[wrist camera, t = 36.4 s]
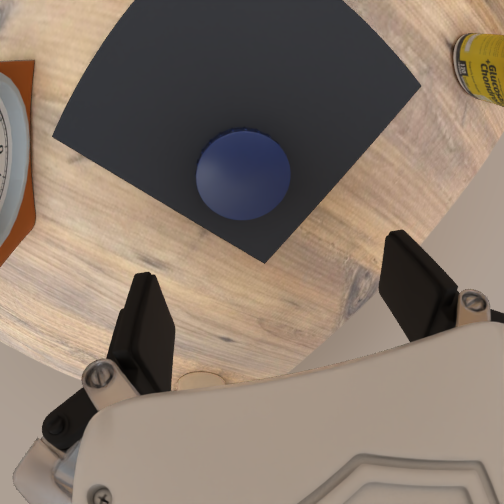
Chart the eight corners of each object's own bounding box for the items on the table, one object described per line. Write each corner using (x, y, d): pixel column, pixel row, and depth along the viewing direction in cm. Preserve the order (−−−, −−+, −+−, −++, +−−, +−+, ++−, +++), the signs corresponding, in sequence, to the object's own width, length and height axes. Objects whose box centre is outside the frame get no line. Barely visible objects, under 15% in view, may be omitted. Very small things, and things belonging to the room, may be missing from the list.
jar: (234, 378, 35) (243, 455, 26) (212, 400, 37) (217, 469, 28) (189, 366, 32) (189, 448, 24) (170, 389, 35) (169, 462, 26)
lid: (304, 165, 21) (310, 171, 20) (246, 226, 23) (249, 237, 22) (236, 107, 18) (238, 110, 17) (178, 178, 20) (175, 186, 19)
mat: (418, 85, 18) (421, 85, 18) (264, 261, 26) (264, 264, 25) (217, -78, 10) (218, -81, 10) (54, 135, 17) (51, 136, 17)
